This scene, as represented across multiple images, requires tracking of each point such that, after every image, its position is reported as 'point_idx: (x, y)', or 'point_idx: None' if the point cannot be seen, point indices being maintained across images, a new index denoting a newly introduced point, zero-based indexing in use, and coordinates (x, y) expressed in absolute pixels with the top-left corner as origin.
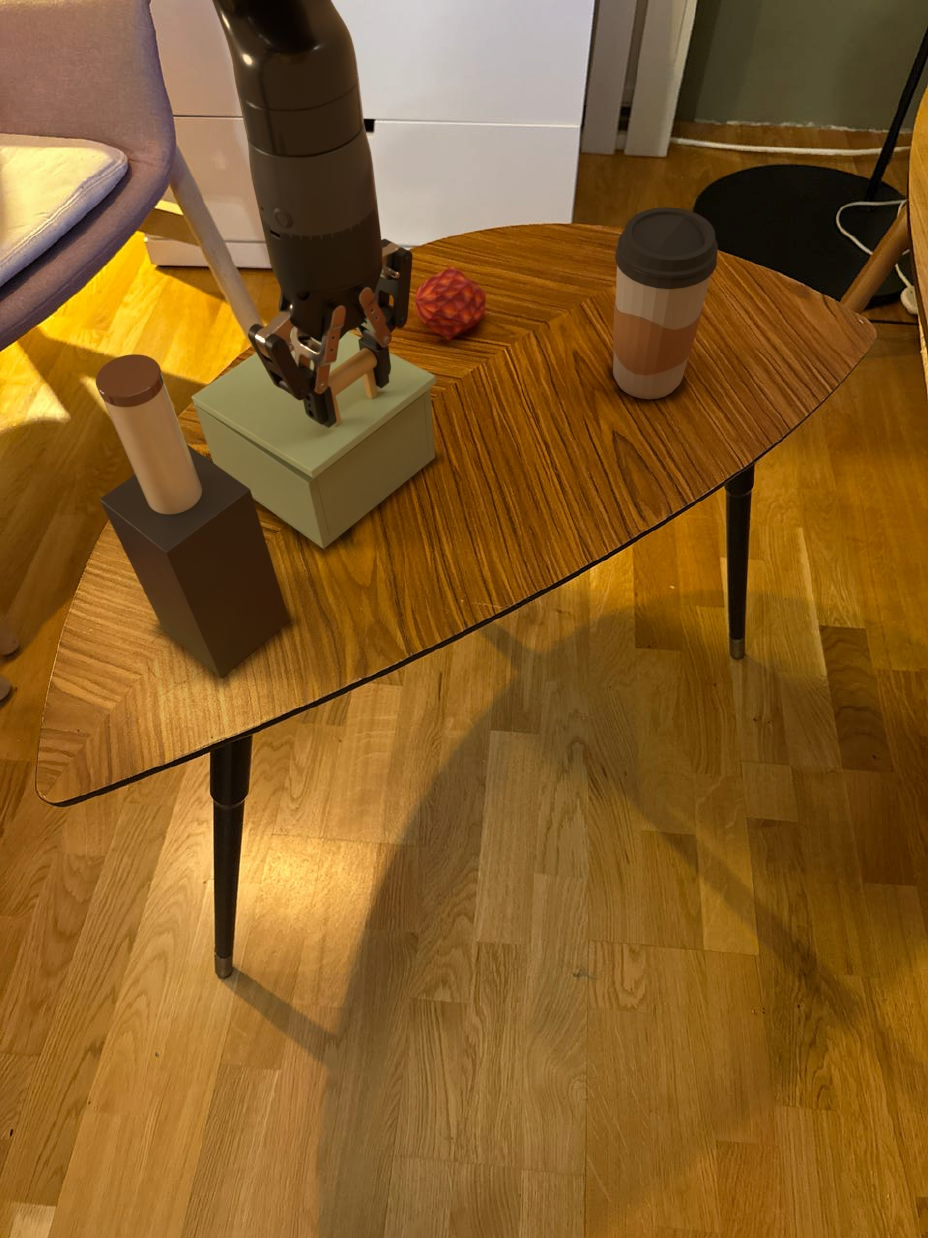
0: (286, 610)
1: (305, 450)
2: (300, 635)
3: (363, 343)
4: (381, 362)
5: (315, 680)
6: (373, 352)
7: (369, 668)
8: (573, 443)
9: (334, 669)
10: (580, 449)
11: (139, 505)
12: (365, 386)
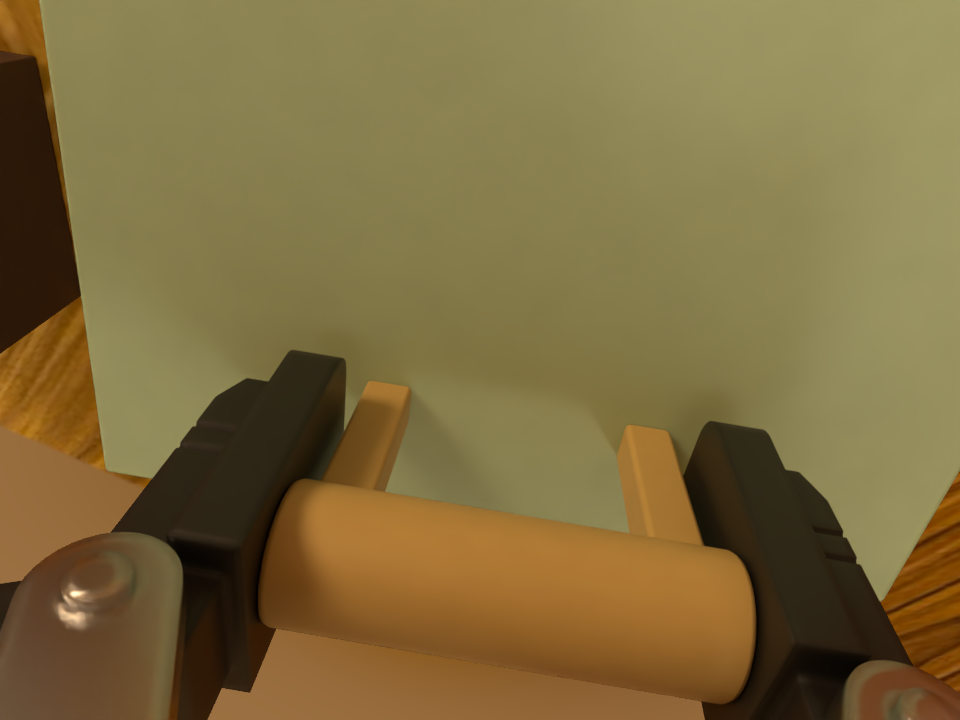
0: (51, 316)
1: (168, 381)
2: (79, 336)
3: (768, 679)
4: None
5: (42, 419)
6: (727, 705)
7: (142, 483)
8: (928, 559)
9: (87, 435)
10: (910, 575)
11: None
12: (631, 470)
